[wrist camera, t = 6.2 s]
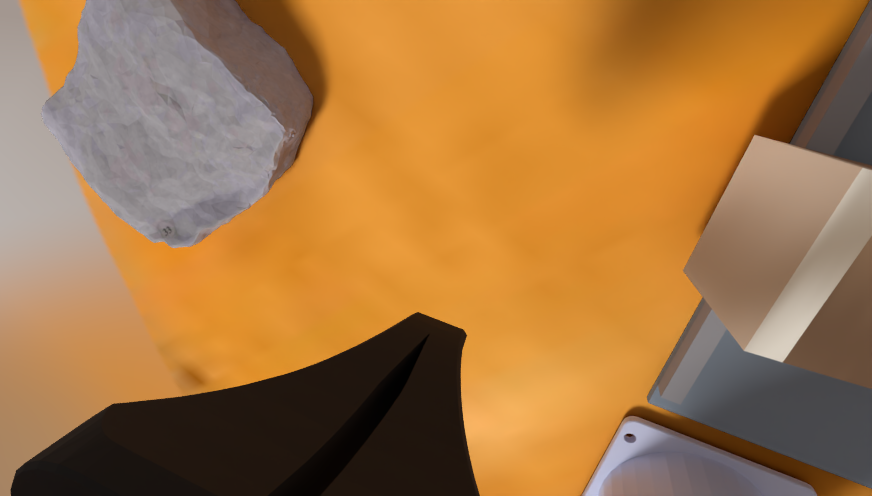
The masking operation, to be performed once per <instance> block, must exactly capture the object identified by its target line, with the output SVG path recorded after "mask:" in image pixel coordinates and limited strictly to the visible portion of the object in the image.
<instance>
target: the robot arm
mask: <svg viewBox="0 0 872 496" xmlns="http://www.w3.org/2000/svg"><path fill="white" fill-rule="evenodd" d="M466 336H467V335H466V333H465V331H464V330H463V329H460V328H458V327H455V326H453V325H450V324H447V323H445V322H442V321H440V320H437V319H434V318H432V317H429V316H427V315H424V314H421V313H419V312H417V313H415V314H412V315H411V316H409V317H407V318H406V319H404V320H402V321H401V322H399V323H397V324H396V325H394V326H392V327H391V328H389V329H387V330H385V331H384V332H382V333H380V334H378V335H376V336H374V337H372V338H371V339H369V340H367V341H365V342H363V343H361V344H359V345H357V346H355V347H353V348H351V349H349V350H346V351H344V352H342V353H340V354H338V355H335V356H333V357H331V358H329V359H326V360H324V361H321V362H319V363H316V364H314V365H311V366H308V367H306V368H303V369H300V370H297V371H294V372H291V373H288V374H284V375H281V376H277V377H273V378H269V379H265V380H262V381H258V382H254V383H250V384H247V385H242V386H238V387H233V388H228V389H223V390H218V391H212V392H207V393H201V394H195V395H189V396H182V397H175V398H165V399H157V400H147V401H138V402H129V403H117V404H112V405H110V406H109V407H107V408H105V409H104V410H102V411H101V412H99V413H98V414H96V415H94V416H93V417H92V418H90V419H88V420H87V421H85V422H84V423H82V424H81V425H80V426H78V427H77V428H75V429H74V430H72V431H71V432H69V433H68V434H66V435H65V436H64V437H62V438H61V439H59V440H58V441H56V442H55V443H53V444H52V445H51V446H49V447H48V448H46V449H45V450H43V451H42V452H40V453H39V454H37V455H36V456H35V457H33V458H32V459H30V460H29V461H27V462H26V463H25V464H24V465H22V466H21V467H20V468H19V469H18V470H16V473H15V476H14V480H13V483H12V487H11V496H480V495H479V491H478V488H477V485H476V481H475V478H474V474H473V469H472V465H471V461H470V456H469V451H468V446H467V441H466V435H465V428H464V421H463V412H462V402H461V357H462V349H463V346H464V343H465V340H466ZM629 433H630V434H633V435H634V436H632V437H628V436H626V434H629ZM582 496H817V494H816V492H815V490H814V489H813V487H812V486H811V485H809V484H808V483H806V482H803V481H800V480H798V479H795V478H793V477H790V476H788V475H785V474H783V473H780V472H777V471H775V470H772V469H770V468H767V467H765V466H762V465H760V464H757V463H754V462H752V461H749V460H747V459H744V458H742V457H739V456H737V455H734V454H732V453H729V452H726V451H724V450H721V449H719V448H716V447H714V446H711V445H709V444H706V443H703V442H701V441H698V440H696V439H693V438H691V437H688V436H686V435H683V434H680V433H678V432H675V431H673V430H670V429H668V428H665V427H663V426H660V425H658V424H655V423H652V422H650V421H647V420H645V419H642V418H640V417H636V416H629V417H626V418H625V419H624V420H623V421H622V423H621V425H620V427H619V428H618V430H617V432H616V434H615V436H614V438H613V439H612V441H611V443H610V445H609V447H608V448H607V450H606V452H605V454H604V456H603V458H602V459H601V461H600V463H599V465H598V467H597V469H596V470H595V472H594V474H593V476H592V478H591V479H590V481H589V483H588V485H587V487H586V489H585V490H584V492H583V494H582Z"/></svg>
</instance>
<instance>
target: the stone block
mask: <svg viewBox="0 0 872 496" xmlns="http://www.w3.org/2000/svg"><path fill="white" fill-rule="evenodd" d="M78 41H79V49H78V55H77V60H76V63H75V65H74V68H73V69H72V70H71V71H70V72H69V74H68V75H67V77H66V80H65V84H64V86H63V87H62V88H61V89H59V90H58V91H57V92H56V93H55V94H54V95H53V96H52V97H51V98H49V99H48V100H47V101H46V102H45V104H44V105H43V107H42V112H41V115H42V119H43V122H44V124H45V125H46V126H47V128H48V129H49V130H50V132H51V133H52V134H53V135H54V136H55V137H56V139H57V140H58V141H59V143H60V144H61V147H62V149H63V150H64V152H65V154H66V155H67V156H68V157H69V159H70V161H71V162H72V164H73V165H74V166H75V167H76V168H77V169H78V170H79V171H80V173H81V174H82V176H83V177H84V179H85V180H86V182H87V183H88V184H89V186H90V187H91V188H92V189H93V190H94V191H95V192H96V193H97V194H98V195H99V197H100V198H101V199H102V201H103V202H105V203H106V204H107V205H108V206H109V207H110V208H111V210H112V211H113V212H114V213H115V214H116V215H117V216H118V217H119V218H121V219H122V220H124V221H125V222H126V223H128V224H129V225H130V226H132V227H133V228H134V229H136V230H137V231H138V232H140V233H141V234H143V235H144V236H145V237H147V238H148V239H149V240H151V241H152V242H154V243H156V242H161V241H162V242H165V243H167V244H168V245H169V246H170V247H172V248H178V247H191V246H193V245H195V244H197V243H199V242H201V241H202V240H203V239H204V238H206V237H207V236H208V235H209V234H211V233H212V232H213V231H214V230H216V229H217V228H219V227H220V226H221V225H223V224H226V223H228V222H230V220H231V219H232V218H233V217H235V216H236V215H238V214H240V213H241V212H243V211H244V210H246V209H249V208H250V207H251V206H252V205H253V204H254V203H255V202H257V201H258V200H259V199H261V198H262V197H263V196H265V195H266V194H267V193H268V192H269V190H270V188H271V187H272V185H273V184H274V182H275V180H277V179H278V178H280V177H281V176H282V174H283V173H284V172H285V171H286V170H287V169H288V168H290V167H291V165H292V164H293V162H294V160H295V156H296V152H297V149H298V147H299V144H300V142H301V140H302V137H303V135H304V132H305V129H306V126H307V124H308V122H309V119H310V118H311V112H312V107H313V96H312V94H311V92H310V90H309V88H308V86H307V85H306V83H305V82H304V81H303V79H302V78H301V76H300V74H299V72H298V70H297V69H296V67H295V65H294V62H293V60H292V59H291V58H290V57H289V55H288V53H287V52H286V50H285V49H284V48H283V47H281V46H280V45H279V44H278V43H277V42H276V41H275V40H273V39H272V38H271V37H270V36H269V35H268V34H267V33H265V31H264V29H263V28H262V27H261V26H259V25H257V24H255V23H253V22H251V21H250V20H249V18H248V17H247V16H246V14H245V13H244V12H243V11H242V10H241V8H240V7H239V5H238V3H237V2H236V1H235V0H86V4H85V8H84V9H83V11H82V16H81V20H80V22H79V25H78Z"/></svg>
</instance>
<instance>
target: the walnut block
mask: <svg viewBox="0 0 872 496" xmlns="http://www.w3.org/2000/svg"><path fill="white" fill-rule="evenodd" d="M683 271H684V273H685V274H686V275H687V277H688V278H689V279H690V281H691V282H692V283H693V285H694V286H695V287H696V289H697V290H698V291H699V293H700V294H701V295H702V296H703V298H704V299H705V300H706V302H707V303H708V304H709V306H710V307H711V308H712V310H713V311H714V312H715V314H716V315H717V316H718V318H719V319H720V320H721V321H722V323H723V324H724V325H725V327H726V328H727V329H728V331H729V332H730V333H731V335H732V336H733V337H734V339H735V340H736V341H737V343H738V344H739V345H740V346H741V348H742V349H743V350H744V351H746V352H749V353H753V354H756V355H759V356H763V357H766V358H770V359H773V360H776V361H780V362H783V363H786V364H790V365H793V366H796V367H800V368H803V369H806V370H810V371H813V372H816V373H820V374H823V375H826V376H830V377H833V378H836V379H840V380H843V381H846V382H850V383H853V384H856V385H860V386H863V387H866V388H870V389H872V165H868V164H864V163H861V162H857V161H853V160H849V159H845V158H841V157H838V156H834V155H830V154H826V153H822V152H818V151H815V150H811V149H807V148H803V147H799V146H795V145H792V144H788V143H784V142H780V141H776V140H773V139H769V138H765V137H761V136H757V135H754V137H753V139H752V141H751V143H750V145H749V146H748V148H747V150H746V152H745V154H744V156H743V158H742V160H741V162H740V163H739V165H738V167H737V169H736V171H735V173H734V175H733V177H732V179H731V180H730V182H729V184H728V186H727V188H726V190H725V192H724V194H723V196H722V198H721V199H720V201H719V203H718V205H717V207H716V209H715V211H714V213H713V215H712V216H711V218H710V220H709V222H708V224H707V226H706V228H705V230H704V232H703V233H702V235H701V237H700V239H699V241H698V243H697V245H696V247H695V249H694V251H693V252H692V254H691V256H690V258H689V260H688V262H687V264H686V266H685V268H684V269H683Z"/></svg>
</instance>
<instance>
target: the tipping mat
mask: <svg viewBox="0 0 872 496" xmlns="http://www.w3.org/2000/svg"><path fill="white" fill-rule="evenodd" d="M789 144H792V145H795V146H799V147H803V148H807V149H811V150H815V151H818V152H822V153H826V154H830V155H834V156H838V157H841V158H845V159H849V160H853V161H857V162H861V163H864V164H868V165H872V0H870V1H869V3H868V5H867V7H866V8H865V10H864V12H863V14H862V15H861V17H860V19H859V21H858V23H857V24H856V26H855V28H854V30H853V31H852V33H851V35H850V37H849V39H848V40H847V42H846V44H845V46H844V47H843V49H842V51H841V53H840V55H839V56H838V58H837V60H836V62H835V63H834V65H833V67H832V69H831V71H830V72H829V74H828V76H827V78H826V79H825V81H824V83H823V85H822V87H821V88H820V90H819V92H818V94H817V95H816V97H815V99H814V101H813V103H812V104H811V106H810V108H809V110H808V111H807V113H806V115H805V117H804V119H803V120H802V122H801V124H800V126H799V127H798V129H797V131H796V133H795V135H794V136H793V138H792V140H791V142H790V143H789ZM647 400H648V403H650V404H653V405H655V406H658V407H661V408H663V409H666V410H668V411H671V412H674V413H676V414H679V415H681V416H684V417H687V418H689V419H692V420H694V421H697V422H700V423H702V424H705V425H707V426H710V427H713V428H715V429H718V430H720V431H723V432H726V433H728V434H731V435H733V436H736V437H739V438H741V439H744V440H747V441H749V442H752V443H754V444H757V445H760V446H762V447H765V448H767V449H770V450H773V451H775V452H778V453H780V454H783V455H786V456H788V457H791V458H793V459H796V460H799V461H801V462H804V463H806V464H809V465H812V466H814V467H817V468H819V469H822V470H825V471H827V472H830V473H832V474H835V475H838V476H840V477H843V478H845V479H848V480H851V481H853V482H856V483H858V484H861V485H864V486H866V487H869V488H871V489H872V389H870V388H866V387H863V386H860V385H856V384H853V383H850V382H846V381H843V380H840V379H836V378H833V377H830V376H826V375H823V374H820V373H816V372H813V371H810V370H806V369H803V368H800V367H796V366H793V365H790V364H786V363H783V362H780V361H776V360H773V359H770V358H766V357H763V356H759V355H756V354H753V353H749V352H746V351H744V350H743V349H742V348H741V346H740V345H739V344H738V343H737V341H736V340H735V339H734V337H733V336H732V335H731V333H730V332H729V331H728V329H727V328H726V327H725V325H724V324H723V323H722V321H721V320H720V319H719V318H718V316H717V315H716V314H715V312H714V311H713V310H712V308H711V307H710V306H709V304H708V303H707V302H706V300H705V299H704V298H702V300H701V302H700V304H699V305H698V307H697V309H696V311H695V312H694V314H693V316H692V318H691V320H690V321H689V323H688V325H687V327H686V328H685V330H684V332H683V334H682V336H681V337H680V339H679V341H678V343H677V344H676V346H675V348H674V350H673V352H672V353H671V355H670V357H669V359H668V360H667V362H666V364H665V366H664V368H663V369H662V371H661V373H660V375H659V376H658V378H657V380H656V382H655V384H654V385H653V387H652V389H651V391H650V392H649V394H648V396H647Z"/></svg>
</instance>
